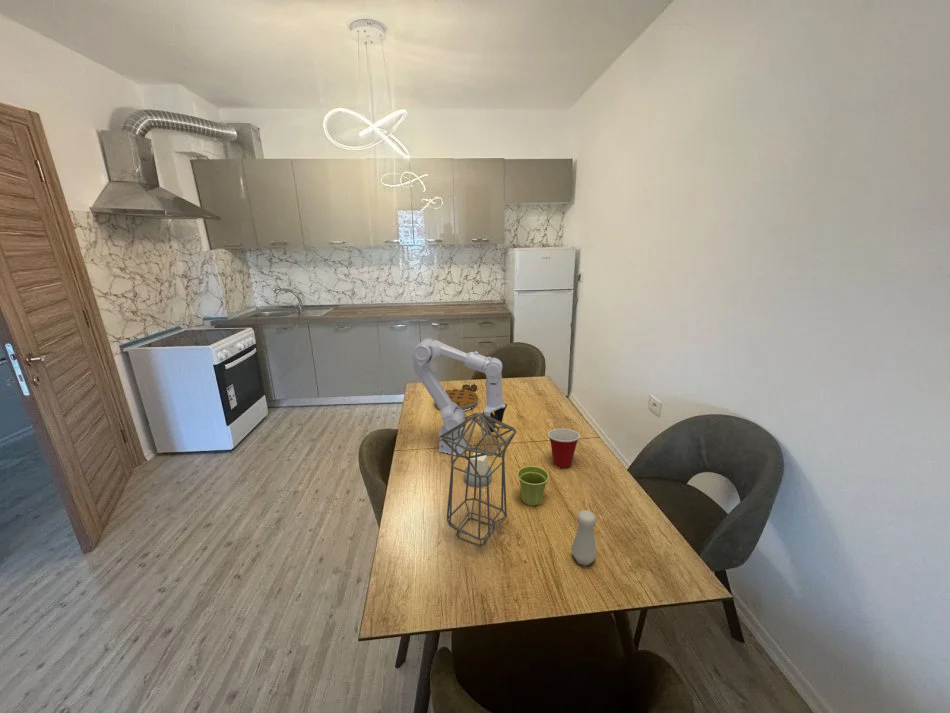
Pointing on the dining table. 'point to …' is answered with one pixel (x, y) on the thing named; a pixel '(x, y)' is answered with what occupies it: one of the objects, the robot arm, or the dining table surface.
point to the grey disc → (483, 480)
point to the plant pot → (532, 484)
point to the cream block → (479, 464)
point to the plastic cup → (563, 446)
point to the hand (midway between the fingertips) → (495, 427)
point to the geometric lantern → (486, 421)
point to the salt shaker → (585, 538)
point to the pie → (463, 398)
